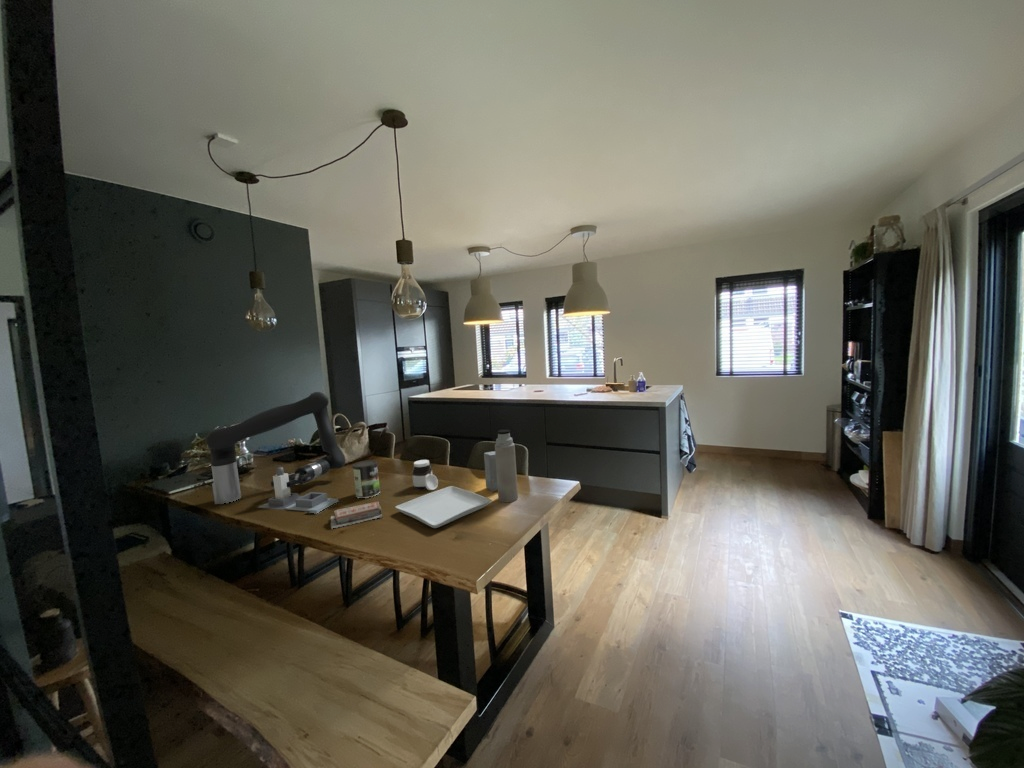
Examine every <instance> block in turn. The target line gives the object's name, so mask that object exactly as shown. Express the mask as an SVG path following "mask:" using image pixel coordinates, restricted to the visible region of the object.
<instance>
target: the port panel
mask: <svg viewBox="0 0 1024 768" xmlns="http://www.w3.org/2000/svg"><path fill="white" fill-rule="evenodd" d="M301 496H302V497H300V498H298V499H296V500H295V502H296V503H294V504H292V505H290V506H288V507H286V508H285V509H284V510H289V511H292V510H293V511H300V512H301V511H304V512H306V514H310V513H314V515H318V514H320V513H321V512H320V511H322V510H323V509H325V508H327V507H329V506H330V505H332V504H334V503H336V502H338V503H339V498H332V497H329V498H328V492H316V491H315V492H314V491H312V492H311V491H310V492H308V493H306V494H304V495H301ZM336 504H337V503H336ZM334 505H335V504H334ZM329 508H330V507H329ZM327 509H328V508H327ZM325 510H326V509H325ZM319 512H320V513H319ZM322 512H323V511H322ZM317 513H318V514H317Z"/></svg>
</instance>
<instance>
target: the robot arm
mask: <svg viewBox="0 0 1024 768" xmlns="http://www.w3.org/2000/svg"><path fill="white" fill-rule="evenodd" d="M328 406H329V398H328V396H327V395H326V393H323V392H320V391H313V392H312V393H310V395H308V396H307V397H305V398H303V399H301V400H298V401H296V402H292V403H289V404H284V405H283V404H282V405H280V406H279V405H278V406H276V407H272V408H270V409H268V410H267V409H266V410H264V411H262V412H259V413H257V414H255V415H253V416H251V417H249V418H247V419H245V420H243V421H242V422H239V423H237V424H234V425H231V426H227V427H224V426H220V427H216V428H214V429H213V430H211V431H210V432H209V433H208V434H207V436H206V439H205V443H206V445H207V447H208V448H209V449H210V450H209V451H210V465H211V466H210V467H211V472H212V479H213V480H212V481H213V482H212V483H211V486H212V493H213V500H214V501H213V502H214V505H225V504H224V503H226V504H230V503H229V502H231V503H234V502H236V500H237V501H238V499H239V500H240V499H241V498H242V492H241V486H240V479H239V477H240V476H239V471H238V465H237V464H238V463H237V451H236V450H237V449H236V444H237V443H239V442H241V441H243V440H245V439H248V438H252V437H254V436H258V435H261V434H264V433H268V432H270V431H273V430H275V429H278V428H280V427H282V426H284V425H287V424H290V423H292V422H293V421H296V420H298V419H299V418H301V417H306V416H308V415H310V414H313V417H314V419H315V423H316V428H317V432H318V437H319V441H320V444H321V448H322V451H323V452H325V453H329V454H330V455H326V456H324V457H322V458H320V459H319V460H316V461H314V462H310V463H307V464H305V465H302V466H299V467H297V468H296V470H295V471H294V472H292V473H290V474H289V473H288V477H289V482H287V483H286V484H287V487H290V488H291V487H293V486H295V485H297V486H298V485H303V484H306V483H309V482H311V481H314V480H315V479H317V478H318V477H322V476H323V475H325V474H326V473H329V471H330V470H335V469H336V470H338V469H339V470H340V469H343V467H344V466H345V465H346V457H345V455H344V453H343V451H342V450H341V448H340V446H339V444H338V441H337V438H336V434H335V432H334V428H333V426H332V422H331V420H330V417H329V411H328ZM270 486H271V487H274V481H273V480H272V481H270ZM233 501H234V502H233Z"/></svg>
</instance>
